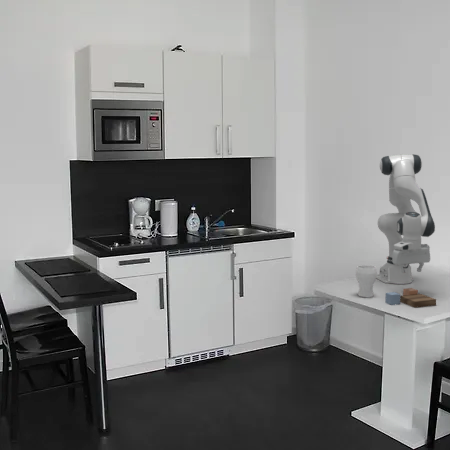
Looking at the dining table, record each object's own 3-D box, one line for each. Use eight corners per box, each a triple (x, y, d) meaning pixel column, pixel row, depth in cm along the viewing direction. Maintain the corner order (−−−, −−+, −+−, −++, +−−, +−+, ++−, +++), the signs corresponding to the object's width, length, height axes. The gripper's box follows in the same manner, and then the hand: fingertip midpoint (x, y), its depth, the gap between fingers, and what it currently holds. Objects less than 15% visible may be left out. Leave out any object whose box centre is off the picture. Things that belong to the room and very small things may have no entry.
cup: (373, 299, 312) (373, 269, 310) (352, 296, 317) (353, 267, 315) (378, 294, 321) (379, 265, 319) (358, 292, 326) (359, 264, 324)
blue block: (385, 302, 305) (385, 292, 304) (394, 301, 306) (394, 291, 306) (391, 305, 300) (391, 295, 299) (399, 304, 302) (400, 294, 301)
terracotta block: (403, 298, 313) (403, 288, 312) (411, 297, 314) (411, 287, 313) (409, 300, 308) (409, 290, 307) (417, 299, 309) (417, 290, 309)
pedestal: (400, 301, 306) (400, 295, 305) (420, 299, 309) (420, 293, 309) (414, 307, 294) (415, 301, 294) (436, 305, 298) (436, 299, 298)
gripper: (425, 242, 313) (424, 269, 315) (390, 245, 307) (390, 272, 309) (433, 244, 308) (432, 271, 309) (398, 247, 301) (397, 275, 303)
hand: (411, 272), depth 309 cm, fingers open, 8 cm apart
